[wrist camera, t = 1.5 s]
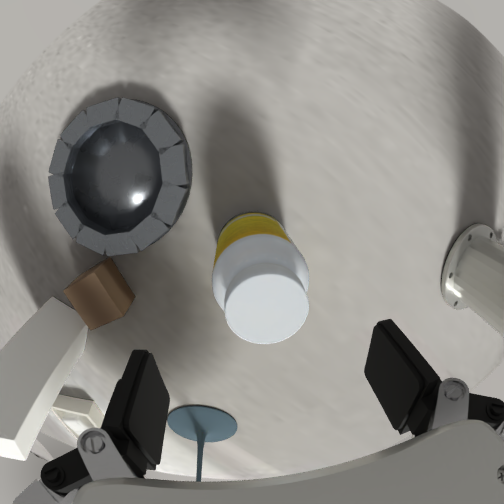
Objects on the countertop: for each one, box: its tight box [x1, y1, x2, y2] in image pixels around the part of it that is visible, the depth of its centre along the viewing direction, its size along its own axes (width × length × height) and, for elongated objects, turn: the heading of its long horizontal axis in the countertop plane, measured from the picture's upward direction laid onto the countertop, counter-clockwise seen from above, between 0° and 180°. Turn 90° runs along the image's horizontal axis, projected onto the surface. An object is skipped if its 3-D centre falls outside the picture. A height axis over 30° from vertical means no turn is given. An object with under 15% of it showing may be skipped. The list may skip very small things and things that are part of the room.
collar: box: [48, 97, 192, 256], centre depth 21 cm, size 15×15×2 cm
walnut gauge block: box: [63, 257, 135, 330], centre depth 24 cm, size 5×5×4 cm
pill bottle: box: [212, 212, 309, 344], centre depth 20 cm, size 6×6×12 cm
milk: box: [0, 297, 88, 460], centre depth 17 cm, size 6×6×22 cm
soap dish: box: [51, 394, 105, 440], centre depth 33 cm, size 9×13×3 cm
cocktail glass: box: [167, 406, 237, 482], centre depth 23 cm, size 18×18×25 cm
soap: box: [62, 412, 95, 435], centre depth 33 cm, size 9×6×3 cm, turn 23°
